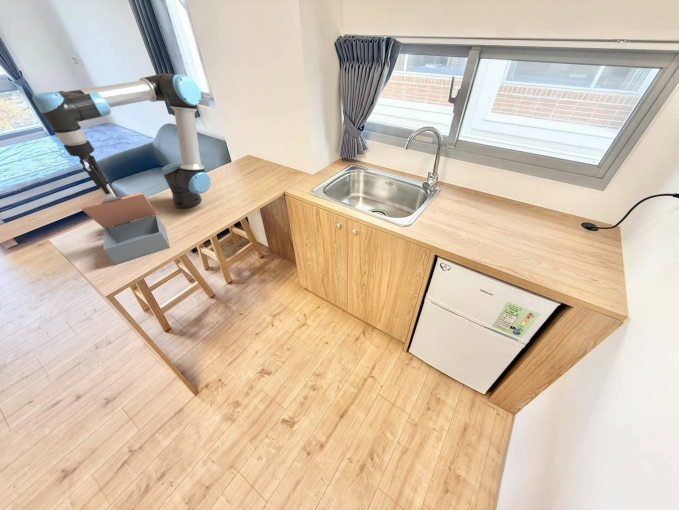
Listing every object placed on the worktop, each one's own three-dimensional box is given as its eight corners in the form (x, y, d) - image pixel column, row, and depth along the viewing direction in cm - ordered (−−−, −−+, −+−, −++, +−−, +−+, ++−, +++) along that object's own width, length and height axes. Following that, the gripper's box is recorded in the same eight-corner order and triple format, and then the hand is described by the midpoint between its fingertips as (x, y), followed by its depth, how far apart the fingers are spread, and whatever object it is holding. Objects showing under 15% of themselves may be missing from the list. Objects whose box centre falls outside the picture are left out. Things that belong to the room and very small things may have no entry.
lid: (104, 228, 122) (103, 226, 122) (157, 214, 131) (156, 212, 131) (79, 207, 105) (78, 205, 105) (142, 193, 114) (141, 191, 114)
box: (115, 243, 128) (104, 228, 122) (165, 229, 137) (157, 214, 131) (115, 265, 117) (103, 249, 111) (169, 247, 126) (161, 232, 120)
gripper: (65, 139, 99) (102, 195, 114) (60, 149, 90) (101, 208, 106) (89, 135, 102) (123, 191, 117) (87, 145, 93) (123, 203, 109)
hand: (112, 199), depth 112 cm, fingers closed
